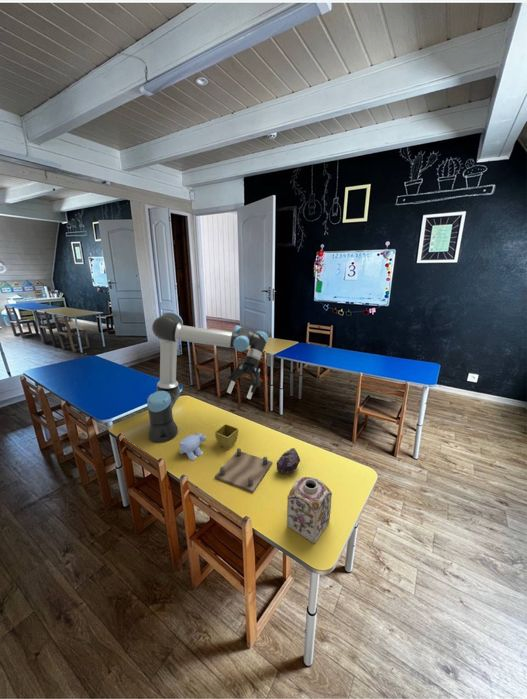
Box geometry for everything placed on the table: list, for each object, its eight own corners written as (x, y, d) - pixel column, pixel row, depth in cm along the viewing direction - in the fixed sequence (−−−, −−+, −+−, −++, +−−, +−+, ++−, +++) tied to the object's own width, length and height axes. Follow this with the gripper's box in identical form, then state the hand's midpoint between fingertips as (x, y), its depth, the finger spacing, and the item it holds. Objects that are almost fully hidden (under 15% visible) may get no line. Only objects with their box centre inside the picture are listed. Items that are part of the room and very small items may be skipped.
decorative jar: (330, 521, 103) (334, 481, 97) (315, 545, 94) (318, 503, 88) (302, 504, 110) (303, 466, 104) (285, 525, 101) (286, 485, 95)
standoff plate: (214, 478, 123) (214, 470, 122) (237, 452, 139) (237, 445, 138) (253, 493, 115) (252, 484, 114) (272, 463, 131) (272, 456, 130)
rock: (274, 472, 128) (292, 482, 122) (272, 458, 124) (290, 468, 118) (289, 455, 136) (307, 464, 129) (287, 442, 132) (305, 450, 126)
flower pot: (228, 453, 139) (227, 437, 136) (215, 447, 143) (214, 432, 140) (239, 443, 146) (238, 428, 143) (226, 438, 150) (225, 423, 148)
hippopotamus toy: (212, 447, 143) (211, 431, 140) (188, 464, 132) (186, 446, 129) (198, 439, 149) (197, 424, 146) (174, 454, 138) (172, 438, 135)
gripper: (275, 364, 147) (261, 403, 140) (239, 358, 161) (225, 392, 155) (268, 358, 141) (253, 398, 135) (231, 352, 156) (216, 388, 149)
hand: (238, 395), depth 145 cm, fingers open, 13 cm apart
